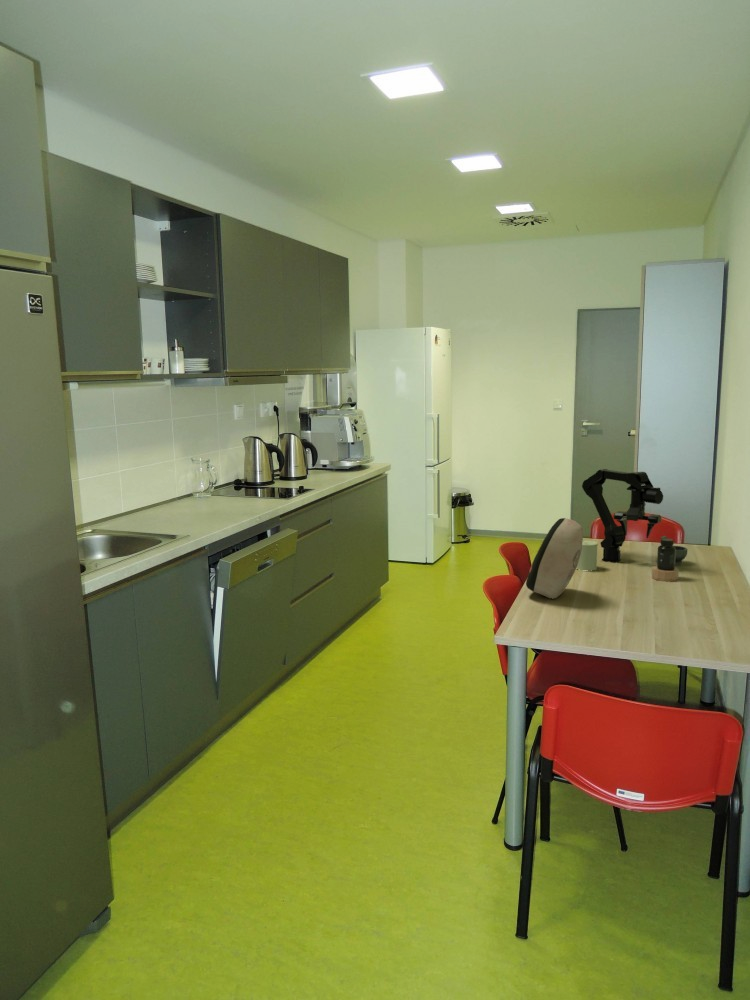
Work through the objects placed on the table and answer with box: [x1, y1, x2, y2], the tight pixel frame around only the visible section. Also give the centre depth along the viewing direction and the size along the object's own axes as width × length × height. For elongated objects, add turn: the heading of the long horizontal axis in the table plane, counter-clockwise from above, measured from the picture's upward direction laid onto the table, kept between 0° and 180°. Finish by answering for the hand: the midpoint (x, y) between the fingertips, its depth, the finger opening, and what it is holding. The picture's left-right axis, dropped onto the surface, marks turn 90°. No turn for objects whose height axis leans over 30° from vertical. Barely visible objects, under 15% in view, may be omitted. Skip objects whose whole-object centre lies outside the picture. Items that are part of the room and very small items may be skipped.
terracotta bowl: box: [651, 565, 680, 582], centre depth 294 cm, size 10×10×4 cm
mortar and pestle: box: [660, 535, 688, 566], centre depth 317 cm, size 11×9×12 cm
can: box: [576, 539, 599, 572], centre depth 310 cm, size 9×9×12 cm
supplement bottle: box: [656, 538, 676, 570], centre depth 293 cm, size 7×7×12 cm
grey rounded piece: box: [525, 517, 584, 600], centre depth 272 cm, size 22×20×30 cm
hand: (636, 536), depth 312 cm, fingers open, 9 cm apart
